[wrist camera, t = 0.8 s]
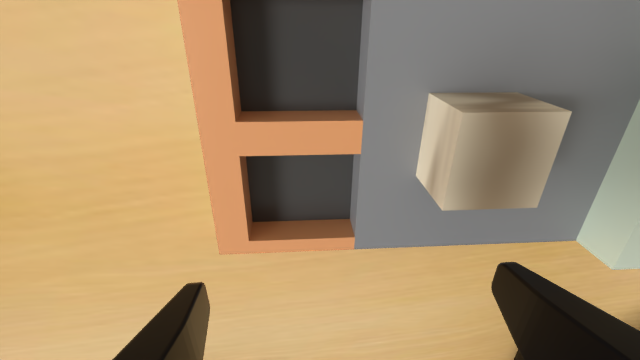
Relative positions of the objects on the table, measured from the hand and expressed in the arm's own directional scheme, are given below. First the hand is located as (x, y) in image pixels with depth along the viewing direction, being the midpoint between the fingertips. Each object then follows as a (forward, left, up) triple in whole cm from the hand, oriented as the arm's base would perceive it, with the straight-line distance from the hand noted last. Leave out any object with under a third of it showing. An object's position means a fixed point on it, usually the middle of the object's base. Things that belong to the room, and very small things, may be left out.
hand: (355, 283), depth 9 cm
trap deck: (-7, 0, -13) cm, 15 cm away
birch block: (-8, 0, -11) cm, 14 cm away
